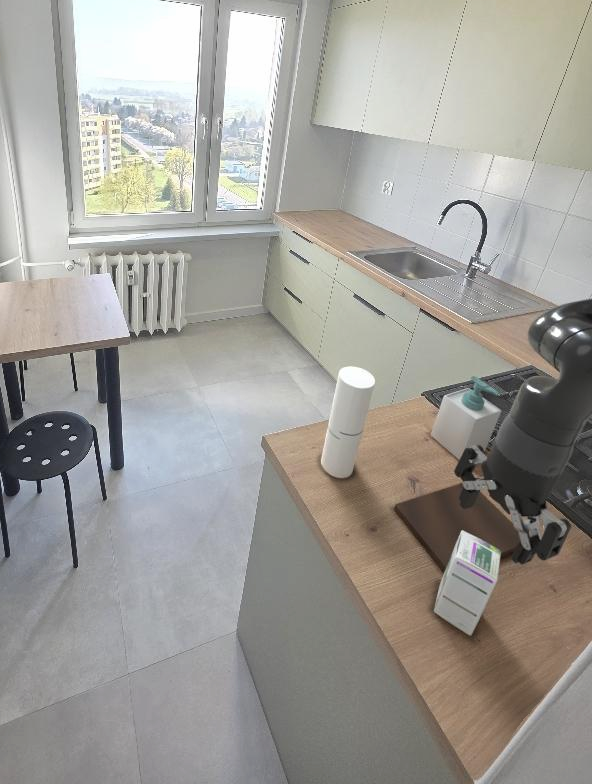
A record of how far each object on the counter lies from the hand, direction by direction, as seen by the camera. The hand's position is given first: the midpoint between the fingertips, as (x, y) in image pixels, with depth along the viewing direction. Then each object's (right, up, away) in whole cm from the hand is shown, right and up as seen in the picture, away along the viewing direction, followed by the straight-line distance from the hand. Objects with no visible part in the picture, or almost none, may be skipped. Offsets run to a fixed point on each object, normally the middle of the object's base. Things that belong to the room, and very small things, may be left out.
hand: (490, 531), depth 62 cm
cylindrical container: (-12, -6, +34) cm, 37 cm away
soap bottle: (+20, -4, +41) cm, 46 cm away
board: (+8, -12, +21) cm, 26 cm away
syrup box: (-1, -18, +8) cm, 20 cm away
